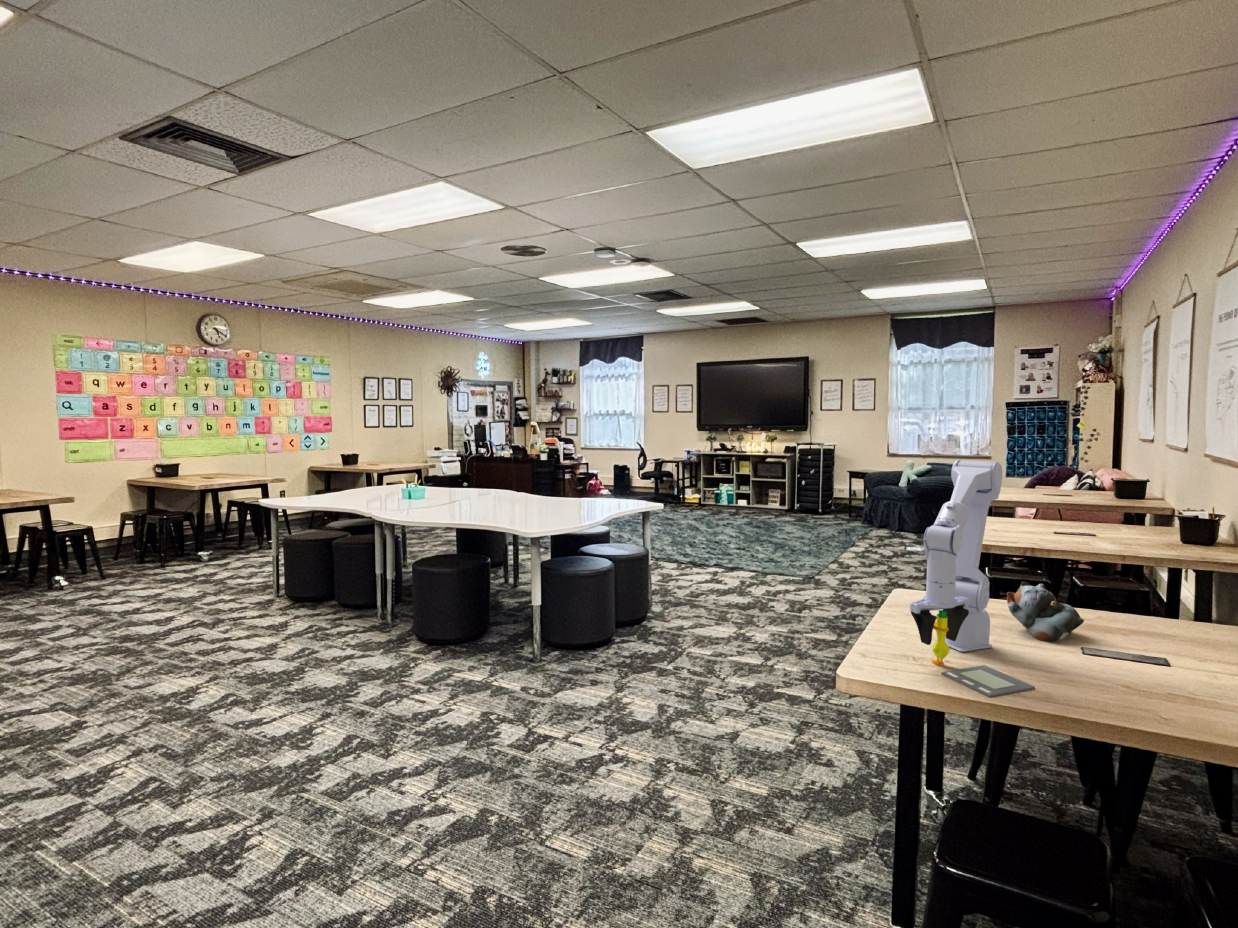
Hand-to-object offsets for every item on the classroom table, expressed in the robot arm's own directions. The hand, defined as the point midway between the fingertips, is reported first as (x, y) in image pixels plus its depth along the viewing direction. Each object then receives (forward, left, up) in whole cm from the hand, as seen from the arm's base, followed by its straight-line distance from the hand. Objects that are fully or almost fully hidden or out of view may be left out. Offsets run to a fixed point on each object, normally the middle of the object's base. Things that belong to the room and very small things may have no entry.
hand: (938, 641), depth 147 cm
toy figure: (0, 0, -5) cm, 5 cm away
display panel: (-2, +11, -5) cm, 12 cm away
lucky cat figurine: (-40, -6, -5) cm, 40 cm away
